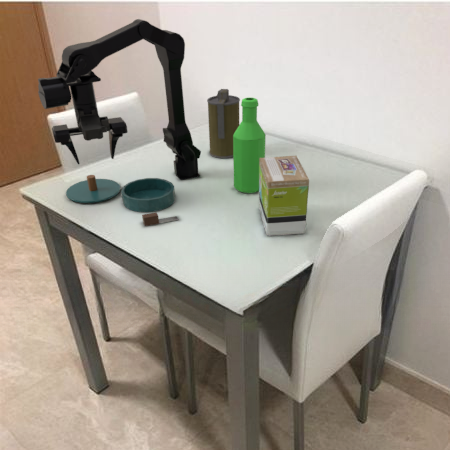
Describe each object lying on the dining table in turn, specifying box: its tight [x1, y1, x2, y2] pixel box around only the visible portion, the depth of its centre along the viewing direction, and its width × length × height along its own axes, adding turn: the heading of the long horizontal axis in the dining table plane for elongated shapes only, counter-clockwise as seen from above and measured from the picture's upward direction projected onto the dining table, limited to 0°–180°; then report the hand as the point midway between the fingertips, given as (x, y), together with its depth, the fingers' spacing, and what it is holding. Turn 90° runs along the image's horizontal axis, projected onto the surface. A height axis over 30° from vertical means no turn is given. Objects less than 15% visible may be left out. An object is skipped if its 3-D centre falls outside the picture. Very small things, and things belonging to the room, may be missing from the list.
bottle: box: [232, 97, 266, 194], centre depth 137 cm, size 9×9×25 cm
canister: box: [206, 88, 241, 159], centre depth 161 cm, size 11×10×20 cm
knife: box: [141, 211, 179, 227], centre depth 128 cm, size 9×2×2 cm, turn 110°
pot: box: [120, 177, 176, 213], centre depth 138 cm, size 14×14×4 cm
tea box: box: [258, 155, 310, 237], centre depth 123 cm, size 15×10×15 cm, turn 5°
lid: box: [65, 174, 121, 204], centre depth 142 cm, size 15×15×5 cm
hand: (95, 161), depth 135 cm, fingers open, 9 cm apart
